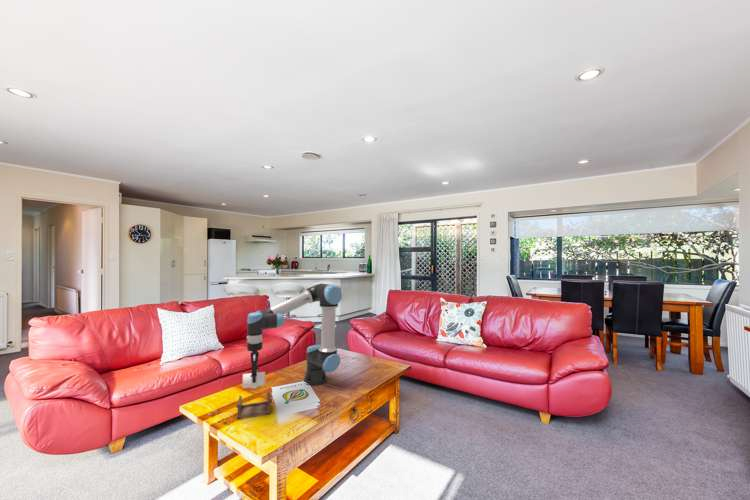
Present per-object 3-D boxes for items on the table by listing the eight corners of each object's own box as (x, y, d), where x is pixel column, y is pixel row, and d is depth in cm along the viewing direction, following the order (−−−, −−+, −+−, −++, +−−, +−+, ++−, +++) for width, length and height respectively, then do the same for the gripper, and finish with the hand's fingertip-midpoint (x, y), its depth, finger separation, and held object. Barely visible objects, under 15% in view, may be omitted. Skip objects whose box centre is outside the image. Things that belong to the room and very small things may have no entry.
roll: (265, 382, 174) (265, 369, 174) (265, 387, 167) (265, 374, 167) (243, 385, 170) (243, 372, 170) (242, 390, 163) (242, 377, 163)
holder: (271, 404, 177) (271, 391, 177) (271, 414, 166) (271, 400, 166) (237, 409, 171) (237, 396, 171) (235, 419, 160) (235, 405, 161)
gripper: (248, 337, 177) (247, 379, 177) (246, 348, 158) (245, 394, 158) (262, 336, 179) (262, 377, 179) (262, 346, 161) (261, 392, 160)
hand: (254, 385), depth 169 cm, fingers closed on roll, 7 cm apart
